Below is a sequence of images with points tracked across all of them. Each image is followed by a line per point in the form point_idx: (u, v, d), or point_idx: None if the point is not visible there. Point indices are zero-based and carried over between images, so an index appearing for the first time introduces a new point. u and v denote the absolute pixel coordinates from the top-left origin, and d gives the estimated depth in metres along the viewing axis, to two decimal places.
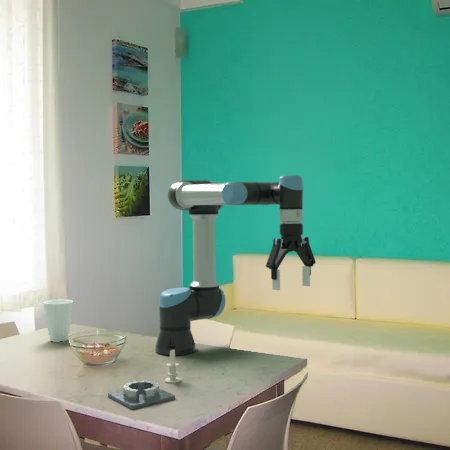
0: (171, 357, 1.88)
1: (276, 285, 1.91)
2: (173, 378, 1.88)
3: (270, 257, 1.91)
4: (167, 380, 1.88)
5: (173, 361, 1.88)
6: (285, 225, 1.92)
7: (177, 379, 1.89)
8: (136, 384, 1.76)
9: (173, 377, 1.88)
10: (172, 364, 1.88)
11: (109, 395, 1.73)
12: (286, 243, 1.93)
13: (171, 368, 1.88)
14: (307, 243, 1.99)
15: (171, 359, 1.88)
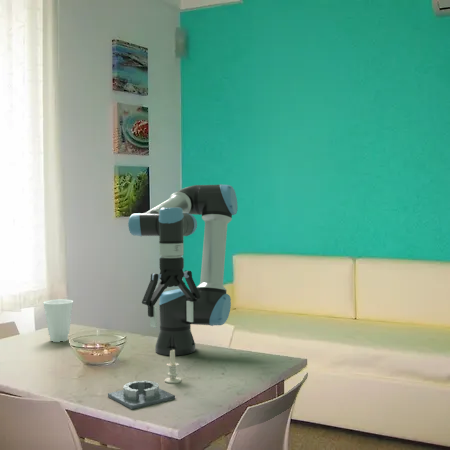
0: (171, 357, 1.88)
1: (153, 322, 1.83)
2: (173, 378, 1.88)
3: (146, 293, 1.83)
4: (167, 380, 1.88)
5: (173, 361, 1.88)
6: (163, 260, 1.85)
7: (177, 379, 1.89)
8: (136, 384, 1.76)
9: (173, 377, 1.88)
10: (172, 364, 1.88)
11: (109, 395, 1.73)
12: (164, 278, 1.85)
13: (171, 368, 1.88)
14: (190, 277, 1.91)
15: (171, 359, 1.88)
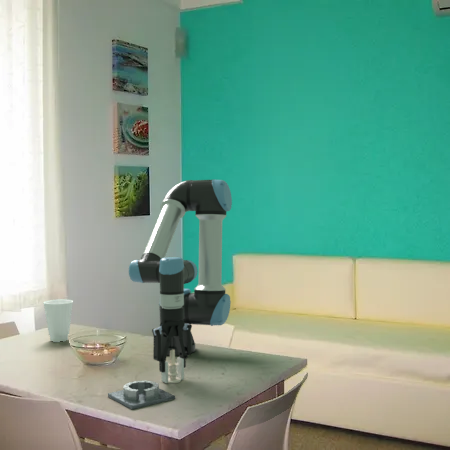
0: (171, 357, 1.88)
1: (164, 377, 1.86)
2: (173, 378, 1.88)
3: (154, 350, 1.85)
4: None
5: (173, 361, 1.88)
6: (164, 310, 1.85)
7: (177, 379, 1.89)
8: (136, 384, 1.76)
9: (173, 377, 1.88)
10: (172, 364, 1.88)
11: (109, 395, 1.73)
12: (165, 329, 1.86)
13: (171, 368, 1.88)
14: (188, 331, 1.91)
15: (171, 359, 1.88)
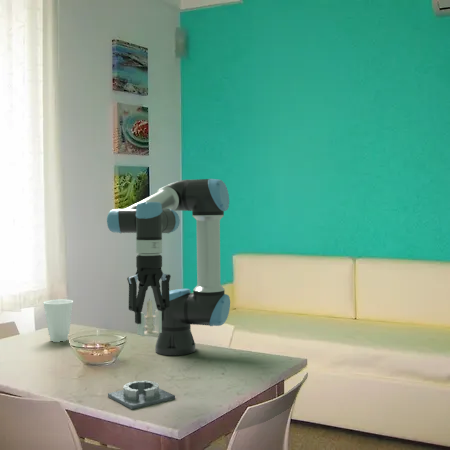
0: (148, 308, 1.76)
1: (140, 330, 1.74)
2: (150, 331, 1.75)
3: (130, 299, 1.73)
4: None
5: (150, 312, 1.76)
6: (140, 257, 1.73)
7: (154, 332, 1.76)
8: (136, 384, 1.76)
9: (150, 330, 1.75)
10: (149, 316, 1.75)
11: (109, 395, 1.73)
12: (141, 277, 1.73)
13: (148, 320, 1.75)
14: (167, 281, 1.79)
15: (148, 310, 1.76)
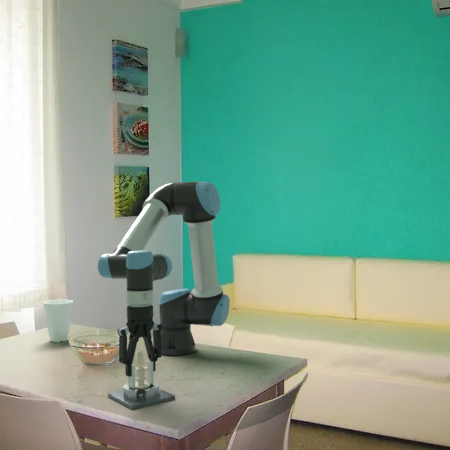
0: (139, 360, 1.72)
1: (131, 382, 1.70)
2: (141, 383, 1.72)
3: (120, 352, 1.69)
4: None
5: (141, 364, 1.72)
6: (130, 309, 1.69)
7: (146, 384, 1.72)
8: None
9: (141, 382, 1.72)
10: (140, 367, 1.72)
11: (109, 395, 1.73)
12: (132, 329, 1.69)
13: (139, 372, 1.71)
14: (158, 331, 1.75)
15: (139, 362, 1.72)
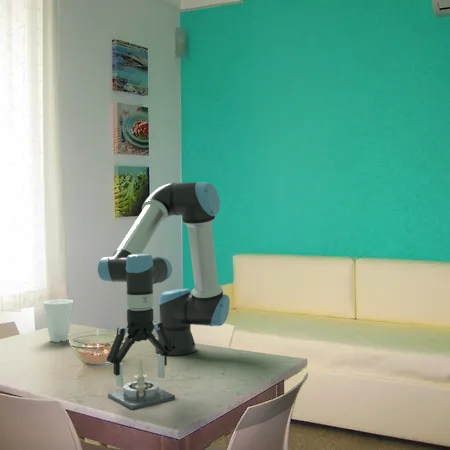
0: (139, 368, 1.72)
1: (119, 381, 1.68)
2: (141, 391, 1.72)
3: (112, 350, 1.67)
4: None
5: (141, 373, 1.72)
6: (130, 312, 1.69)
7: None
8: (136, 384, 1.76)
9: (141, 390, 1.72)
10: (140, 376, 1.72)
11: (109, 395, 1.73)
12: (132, 332, 1.69)
13: (139, 380, 1.71)
14: (161, 330, 1.75)
15: (139, 370, 1.72)
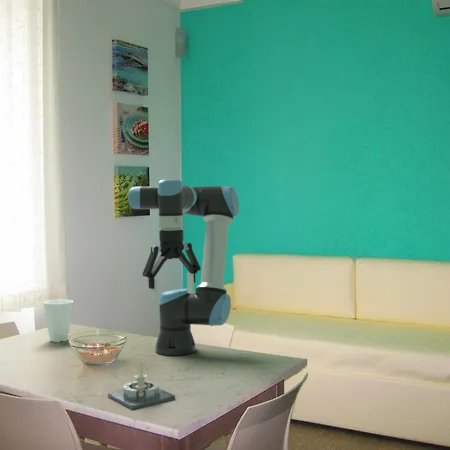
0: (139, 368, 1.72)
1: (154, 294, 1.85)
2: (141, 391, 1.72)
3: (147, 265, 1.84)
4: None
5: (141, 373, 1.72)
6: (163, 232, 1.86)
7: None
8: (136, 384, 1.76)
9: (141, 390, 1.72)
10: (140, 376, 1.72)
11: (109, 395, 1.73)
12: (164, 250, 1.86)
13: (139, 380, 1.72)
14: (190, 249, 1.92)
15: (139, 370, 1.72)
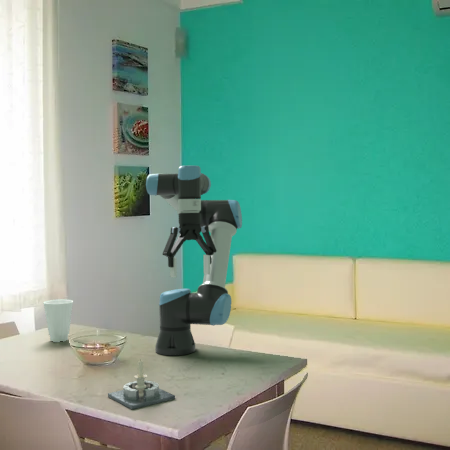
0: (139, 368, 1.72)
1: (173, 273, 1.96)
2: (141, 391, 1.72)
3: (167, 245, 1.95)
4: None
5: (141, 373, 1.72)
6: (182, 214, 1.97)
7: None
8: (136, 384, 1.76)
9: (141, 390, 1.72)
10: (140, 376, 1.72)
11: (109, 395, 1.73)
12: (183, 232, 1.97)
13: (139, 380, 1.72)
14: (207, 232, 2.03)
15: (139, 370, 1.72)
